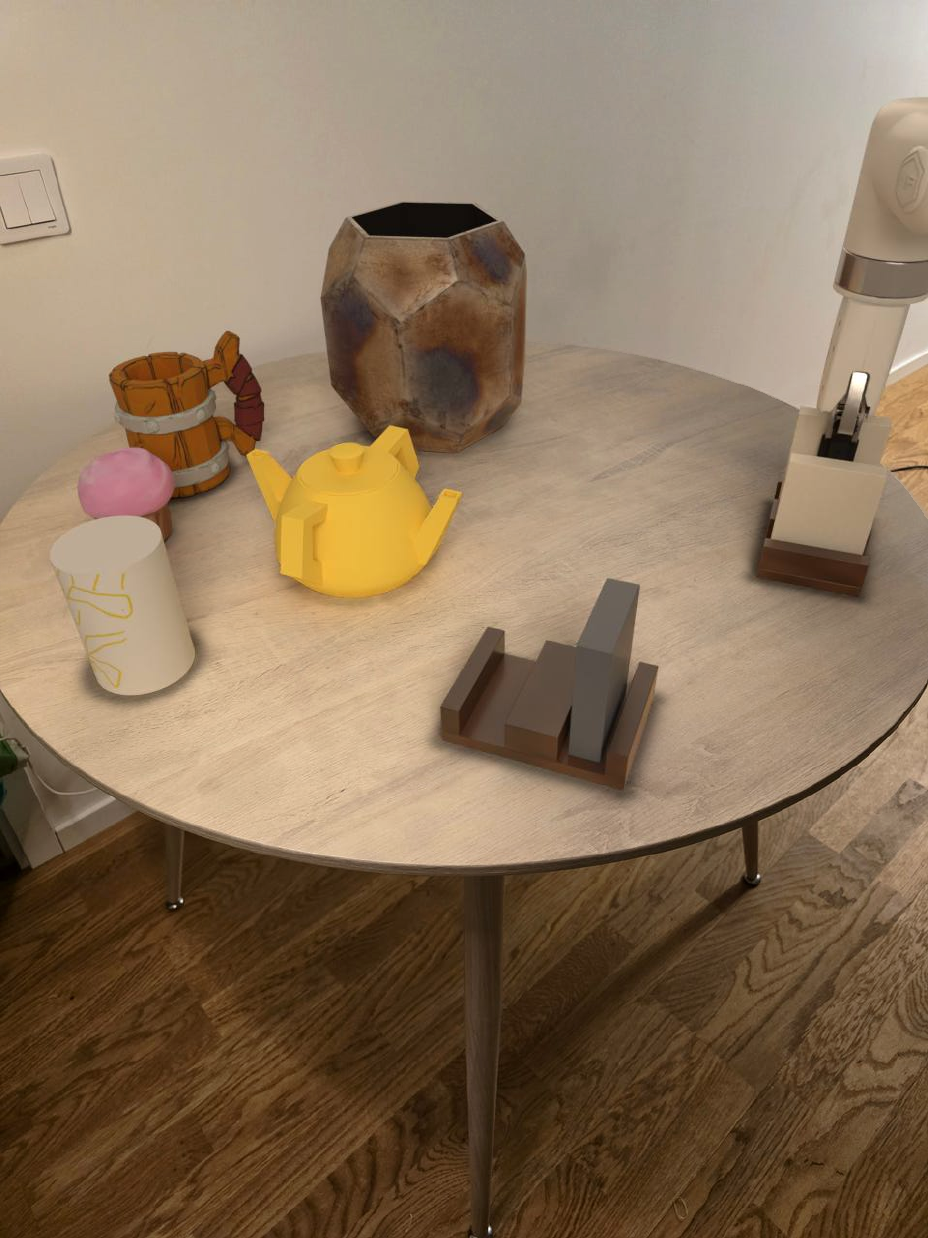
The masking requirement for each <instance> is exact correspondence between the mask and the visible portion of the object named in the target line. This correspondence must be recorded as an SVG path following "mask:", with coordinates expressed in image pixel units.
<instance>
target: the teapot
mask: <svg viewBox="0 0 928 1238" xmlns="http://www.w3.org/2000/svg"><path fill="white" fill-rule="evenodd" d="M246 458H247V462H248V463H249V466H250V468H251V470H252V473H253V475H254V478H255V480H256V483H257V485H258V487H259V489H260V492H261V495H262V497H263V498H264V501H265V504H266V505H267V508H268V510H269V513H270V515H271V517H272V520H273V522H274V525H275V526H274V549H275V555H276V558H277V561H278V562H279V564H280V571H279V572H280V574H279V575H284V576H287V577H291V578H292V579H294V580H295V581H296V582H299V583H300V584H301V585H303V586H305V587H306V588H308V589H310V590H312V591H315V592H316V593H320V594H323V595H325V596H330V597H335V598H345V599H356V598H357V599H358V598H359V599H360V598H368V597H373V596H378V595H382V594H385V593H388V592H392V591H393V590H395V589H398V588H400V587H401V586H403V585H405V584H406V583H408V582H409V581H411V580H412V579H413V578H414V577H415V576H416V575H418V573H420V571H421V570H423V568H424V567H425V566H426V565H427V564H428V563H429V561H430V560H431V559H432V557H433V556H434V554H435V553H436V552H437V551H438V549H439V548H440V546H441V544H442V541H443V539H444V537H445V535H446V532H447V530H448V528H449V527H450V524H451V521H452V519H453V517H454V515H455V513H456V511H457V508H458V506H459V503H460V502H461V500H462V497H463V492H462V491H460V490H459V491H458V490H454V489H450V488H444V489H443V490H442V491H441V492H440V493H439V494H438V499H437V501H436V502H435V503H434V505H433V507H432V506H431V503H430V502H429V500H428V499H429V498H428V497H427V495H426V494H425V492H424V490H423V488H422V487H421V485H420V484H419V482H418V481H417V480H416V476H417V474H418V471H419V468H420V464H419V461H418V458H417V454H416V450H414V448H413V444H412V441H411V438H410V435H409V432H408V429H404V428H400V427H396V426H391V425H389V427H388V428H387V429H386V430H385V431H384V432H383V433H382V434H381V435H380V436H379V437H378V438H377V440H376V439H375V440H374V441H373V442H372V443H371V445H369V446H368V445H362V444H360V443H357V442H341V443H338V444H335V445H333V446H331V447H330V448H327V449H324V450H322V451H319V452H317V453H314V454H313V455H311V456H310V457H308V458H307V459H305V460H304V462H302V463H301V465H300V466H299V467H298V469H297V470H296V471H295V474H294V475H293V477H291V476H290V475H289V474H288V473H287V472H286V470H285V469H283V467H282V466H281V465H280V464H279V463H278V462H277V461H276V460H275V459H274V458H273V456H271V454H270V452H269V451H266V450H262V449H257V448H255V450H253V451H252V452H250V453H248V454H247V456H246Z"/></svg>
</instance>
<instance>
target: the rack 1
mask: <svg viewBox="0 0 928 1238" xmlns="http://www.w3.org/2000/svg"><path fill="white" fill-rule="evenodd" d="M505 641H506V631H505V630H504V629H502V628H501V629H500V628H495V627H491V626H487V627H486V629H485V630H484V632H483V634H482V635H481V637H480V639H479V641H478V642H477V643H476V646H475V647H474V649H473V650H472V652H471V654H470V656H469V657H468V659H467V660H466V662H465V663H464V666H463V668H462V669H461V671H460V672H459V674H458V676H457V677H456V679H455V681H454V683H453V684H452V686H451V688H450V689H449V691H448V693H447V694H446V696H445V698H444V699H443V701H442V702H441V705H440V706H439V707H440V708H439V711H440V731H441V733H440V734H441V740H442V741H445V742H449V743H452V744H455V745H458V746H462V747H466V748H470V749H473V750H477V751H481V752H484V753H486V754H491V755H494V756H499V757H503V758H506V759H509V760H513V761H515V762H516V761H517V762H521V763H524V764H527V765H530V766H534V767H538V768H542V769H544V770H549V771H552V772H555V773H560V774H563V775H567V776H571V777H574V778H578V779H581V780H585V781H587V782H591V783H595V784H598V785H599V784H600V785H602V786H607V787H610V788H613V789H617V790H620V791H625V788H626V785H627V782H628V779H629V776H630V773H631V769H632V767H633V764H634V760H635V757H636V754H637V751H638V748H639V745H640V741H641V739H642V736H643V732H644V729H645V726H646V723H647V721H648V717H649V715H650V711H651V708H652V705H653V702H654V699H655V693H656V685H657V679H658V673H659V665H656V664H652V663H647V662H643V661H639V662H638V665H637V667H636V670H635V673H634V675H633V677H632V678H633V679H632V681H631V683H629V682H627V689H626V693H625V696H624V699H623V702H622V704H621V707H620V710H619V713H618V715H617V718H616V721H615V724H614V726H613V729H612V732H611V735H610V737H609V740H608V743H607V746H606V748H605V751H604V754H603V757H602V759H601V762H600V763H598V762H594V761H590V760H587V759H583V758H579V757H576V756H572V755H569V754H568V749H569V736H570V723H571V710H572V697H573V684H574V671H575V659H576V646H573V645H571V644H570V645H569V644H565V643H561V642H556V641H551V640H545V642H544V644H543V646H542V648H541V650H540V652H539V654H538V656H537V658H536V660H532V659H529V658H528V659H527V658H524V657H520V656H516V655H512V654H508V653H505V652H506V651H505V649H506V647H505V645H506V644H505Z"/></svg>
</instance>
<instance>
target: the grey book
mask: <svg viewBox="0 0 928 1238" xmlns="http://www.w3.org/2000/svg"><path fill="white" fill-rule="evenodd" d="M640 588H641V585H640V584H638V583H633V582H629V581H624V580H619V579H614V578H610V577H607V578H606V580H605V581H604V584H603V586H602V588H601V591H600V593H599V595H598V597H597V600H596V602H595V603H594V606H593V608H592V610H591V613H590V615H589V616H588V619H587V620H586V624H585V626H584V627H583V630H582V632H581V635H580V637H579V639H578V640H577V643H576V645H575V647H576V659H575V671H574V684H573V697H572V710H571V723H570V736H569V749H568V754H569V755H572V756H576V757H579V758H583V759H587V760H590V761H594V762H598V763H600V762H601V759H602V757H603V754H604V751H605V748H606V746H607V743H608V740H609V737H610V735H611V732H612V729H613V726H614V724H615V721H616V718H617V715H618V713H619V710H620V707H621V704H622V702H623V699H624V696H625V693H626V689H627V683H628V681H629V673H630V666H631V665H630V664H631V657H632V650H633V643H634V636H635V635H634V634H635V628H636V627H635V626H636V618H637V613H638V604H639V596H640V590H641V589H640Z"/></svg>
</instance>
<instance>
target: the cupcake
mask: <svg viewBox="0 0 928 1238" xmlns="http://www.w3.org/2000/svg"><path fill="white" fill-rule="evenodd" d="M174 488H175V480H174V476H173V474H172V472H171V470H170V468H169V466H168V465H167V464H166V463H165V462H163V461H162V460H160V459H159V458H158V457H156V456H154V455H153V454H151V453H150V452H148V451H147V450H145V449H142V448H133V447H131V448H129V447H121V448H118V449H114V450H112V451H109V452H106V453H104V454H100V455H98V456H96V457H95V458H93V459H92V460H91V461H90V463H89V464H88V465H87V466H85V467H84V468H83V469H82V470H81V472H80V474H79V477H78V482H77V495H78V499H79V503H80V506H81V508H82V510H83V512H84V513H85V514H86V515H87V516H89V517H90V518H93V520H96V519H100V518H104V517H110V516H122V515H127V516H138V517H142V518H146V519H148V520H151V521H153V522H154V523H155V524H157V525H158V527H159V528H160V530H161V533H162V537H163V540H164V541H165V540H166V539H167V538H168V537H169V536H170V535H171V533H172V531H173V519H172V516H171V510H170V507H169V501H170V500H171V499H172V498H171V496H172V494H173V491H174Z"/></svg>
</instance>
